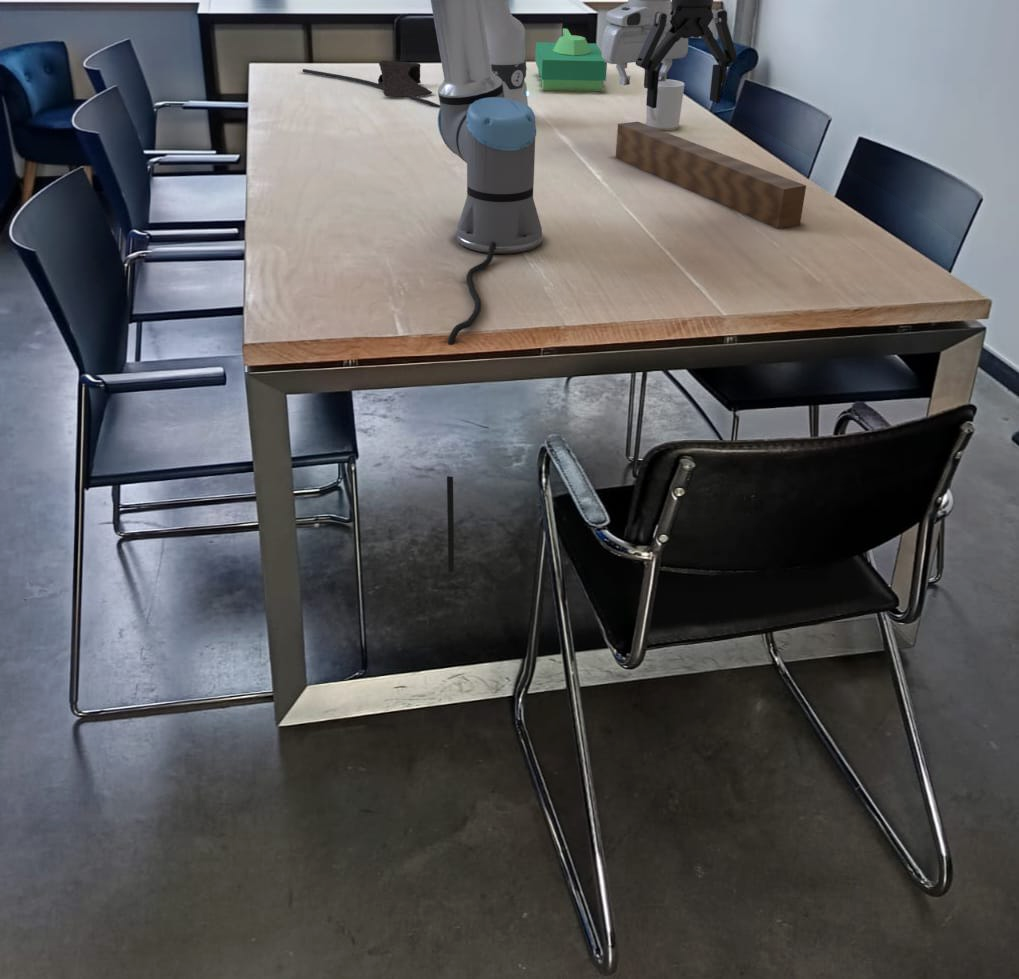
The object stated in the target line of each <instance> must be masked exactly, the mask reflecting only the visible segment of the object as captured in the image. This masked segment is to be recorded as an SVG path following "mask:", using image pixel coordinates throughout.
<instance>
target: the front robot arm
mask: <svg viewBox="0 0 1019 979" xmlns="http://www.w3.org/2000/svg"><path fill="white" fill-rule="evenodd" d="M430 4H431V11H432V17H433V22H434V28H435V34H436V39H437V40H436V41H437V44H438V51H439V56H440V62H441V63H440V64H441V69H442V75H443V81H442V83H441V84H440V86H439V87H438V89H437V95H438V101H439V105H440V108H439V110H438V112H437V128H438V131H439V134H440V137H441V139H442V141H443V143H444V144H445V145H446V147H447V148H448V149H449V151H451V152H452V153H453V154H454V155H456V156H458V158H459V159H461V160H462V161H463V162H465V164H466V192H467V193H466V198H465V202H464V205H463V209H462V211H461V214H460V218H459V220H458V224H457V228H456V241H457V243H458V244H459V245H461V246H462V247H464V248H466V249H468V250H470V251H475V252H479V253H486V254H487V255H486V258H485V259H484V260H483V261H482V262H481V263H479V264H477V265H475V266H473V267H471V268H469V270H468V272H467V274H466V276H465V277H466V278H465V279H466V285H467V287H468V290H469V294H470V295H471V297H472V299H473V302H474V307H473V308H474V309H473V311H472V313H471V314H470V316H469V317H468V318H467V319H466V320H465V321H463V322H460V323H457V324H456V325H455V326H454V327H453V328H452V330H451V332H450V334H449V335H448V340H447V345H449V346H453V345H455V343H456V339H457V336H458V334H459V333H460V332H461V331H462V330H464V329H468V328H470V327H471V326H472V325H473V324H474V322H475V321H476V320H477V318H478V317H479V315H480V312H481V309H482V300H481V298H480V295H479V294H478V292H477V289H476V287H475V283H474V281H473V277H474V275H475V274H476V273H477V272H479V271H482V270H484V269H485V268H487V267H488V266H489V265H490V264H491V263H492V260H493V258H494V254H497V255H499V254H500V255H506V254H507V255H508V254H517V253H524V252H527V251H530V250H533V249H536V248H538V247H539V246H540V245H541V244H542V243H543V229H542V224H541V221H540V220H541V219H540V218H539V214H538V213H539V212H538V210H537V206H536V204H535V199H534V184H535V158H536V156H535V155H536V136H537V124H536V116H535V112H534V110H533V109H532V108H531V107H530V106H529V104H528V105H526V104H525V103H523V102H520V101H513V99H509V98H505V97H504V91H503V84H502V79H501V78H499V77H498V76H497V75H495V74H494V73H493V72H492V68H491V61H490V54H489V48H488V41H487V34H486V27H485V21H484V14H483V7H482V0H430ZM713 5H714V0H671V9H670V12H671V13H670V14H665V13H661V12H656V13H655V18H654V24H653V26H652V29H651V31H650V33H649V35H648V37H647V39H646V41H645V43H644V45H643V47H642V49H641V51H640V54H639V56H638V58H637V60H636V62H635V66H637V67H638V68H642V69H643V71H644V77H643V87H644V88H645V89H647V91H646V103H645V104H646V105H645V106H646V107H647V106H649V107H651V108H656V104H657V91H658V78H659V72H660V70H657V68H658V66H659V65H660V63H661V61H662V60H663V58H664V57H665V56H666V55H667V53H668V52H669V51H670V49H671V48H672V47H673V45H674V44H675V43H676V42H677V41H679V40H680V38H681V37H682V38H688V39H690V38H694V39H699V38H701V39H702V41H703V43H704V44H705V46H706V47H707V49H708V51H709V52H710V53H711V55H712V57H713V58H714V60H715V61H716V63H717V64H712V69H711V70H712V71H711V72H712V73H711V80H710V81H711V82H710V91H709V101H711V102H713V103H715V104H720V103H721V96H722V86H723V84H725V83H726V80H727V73H728V68H730V67H731V65H732V63H736V62H737V61H738V59H739V58H738V54H737V50H736V48H735V43H734V42H733V38H732V34H731V31H730V28H729V25H728V12H727V11H726V10H725V9H722V8H716V9H715V10H713V8H712V7H713ZM669 21H670V23H671V25H672V26H671V27H670V29H669V30H668V31H667V33H666V36H665V37H664V39H663V40H662V41H661V43H660V44H659V45H658V47H657V48H656V46H657V44H658V42H659V40H660V38H661V36H662V34H663V31H664V29H665V26H666V25H668V22H669ZM712 22H713V23H714V25H715V28H716V32H717V35H718V38H719V41H720V44H719V43H718V41H717V39H716V38H715V37H714V33H713V32H712V30H711V28H710V27H709V25H710V24H711V23H712ZM675 32H676V33H675ZM720 45H721V46H720ZM655 48H656V49H655ZM654 50H655V51H654ZM446 504H447V505H446V506H447V509H446V510H447V571H448V572H449V573H454V572H455V524H454V522H455V520H454V519H455V518H454V517H455V516H454V515H455V514H454V511H455V510H454V476H449V475H446Z"/></svg>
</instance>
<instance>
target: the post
mask: <svg viewBox="0 0 1019 979" xmlns="http://www.w3.org/2000/svg"><path fill="white" fill-rule="evenodd" d="M615 159H618V160H619V161H621V162H624V163H626V164H628V165H632V166H633V167H636V168H638V169H640V170H643V171H645V172H647V173H650V174H652V175H654V176H657V177H659V178H661V179H663V180H665V181H668V182H670V183H672V184H674V185H677V186H679V187H682V188H685V189H687V190H689V191H691V192H694V193H695V194H698V195H700V196H703V197H705V198H708V199H709V200H712V201H713V202H717V203H719V204H721V205H723V206H725V207H728V208H730V209H732V210H734V211H737V212H740V213H742V214H744V215H746V216H749V217H751V218H753V219H754V220H758V221H760V222H762V223H764V224H767V225H769V226H772V227H773V228H776V229H783V228H789V227H795V226H798V225H799V226H800V225H801V221H802V214H803V208H804V203H805V196H806V190H807V185H806V184H803V183H801V182H798V181H796V180H793V179H790V178H788V177H785V176H782V175H780V174H777V173H775V172H772V171H770V170H766V169H764V168H761V167H758V166H756V165H753V164H751V163H749V162H745V161H743V160H740V159H738V158H736V157H732V156H730V155H727V154H725V153H722V152H719V151H717V150H714V149H711V148H709V147H706V146H704V145H700V144H698V143H695V142H693V141H690V140H688V139H685V138H683V137H680V136H677V135H676V134H675V135H674V134H671V133H669V132H666V131H665V130H659V129H656V128H654V127H651V126H648V125H646V123H643V122H641V121H630V122H621V123H617V131H616V147H615Z"/></svg>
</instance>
